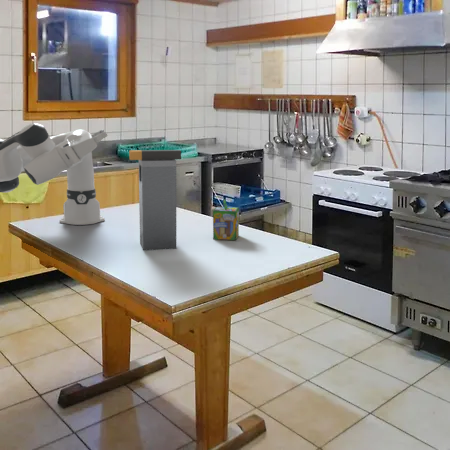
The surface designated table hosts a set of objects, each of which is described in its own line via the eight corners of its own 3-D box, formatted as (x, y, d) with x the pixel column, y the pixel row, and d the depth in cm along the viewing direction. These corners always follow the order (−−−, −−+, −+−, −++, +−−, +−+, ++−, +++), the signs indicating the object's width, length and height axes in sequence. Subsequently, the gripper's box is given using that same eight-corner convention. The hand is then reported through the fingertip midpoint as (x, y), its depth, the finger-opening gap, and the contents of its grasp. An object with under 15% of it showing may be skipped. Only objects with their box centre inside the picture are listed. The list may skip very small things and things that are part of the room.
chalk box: (235, 241, 223) (236, 203, 220) (212, 239, 224) (212, 201, 221) (239, 235, 232) (240, 198, 228) (216, 234, 233) (217, 197, 230)
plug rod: (129, 158, 205) (129, 150, 205) (179, 158, 210) (179, 149, 209) (130, 159, 203) (130, 151, 202) (181, 159, 207) (181, 150, 206)
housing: (140, 243, 217) (138, 157, 210) (171, 241, 220) (171, 157, 213) (143, 250, 207) (141, 161, 200) (176, 248, 210) (176, 160, 203)
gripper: (74, 157, 209) (107, 137, 211) (75, 164, 190) (112, 142, 192) (64, 142, 207) (98, 122, 209) (65, 147, 188) (102, 126, 190)
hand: (105, 132), depth 200 cm, fingers open, 8 cm apart
